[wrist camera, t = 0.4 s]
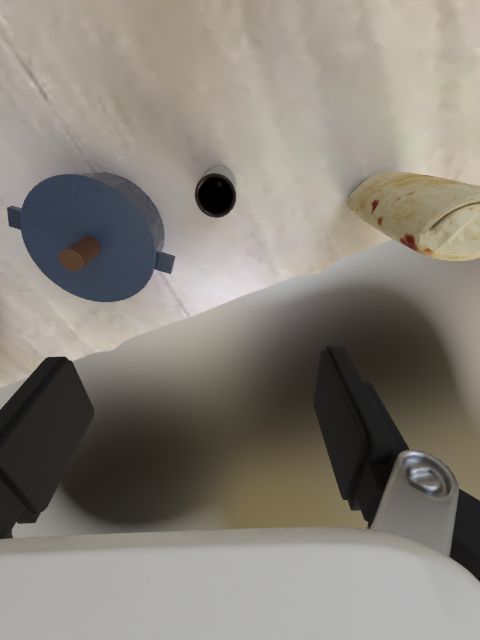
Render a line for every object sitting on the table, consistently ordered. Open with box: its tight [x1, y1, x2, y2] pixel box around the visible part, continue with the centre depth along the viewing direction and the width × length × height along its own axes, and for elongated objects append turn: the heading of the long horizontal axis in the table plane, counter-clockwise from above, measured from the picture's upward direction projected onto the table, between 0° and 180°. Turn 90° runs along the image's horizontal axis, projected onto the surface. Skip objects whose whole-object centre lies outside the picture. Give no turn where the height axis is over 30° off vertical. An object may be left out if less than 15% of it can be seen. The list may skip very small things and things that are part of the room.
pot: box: [7, 172, 175, 274], centre depth 39 cm, size 15×21×8 cm
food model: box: [348, 172, 480, 261], centre depth 32 cm, size 10×7×20 cm
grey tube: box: [195, 166, 236, 218], centre depth 35 cm, size 4×4×10 cm
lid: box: [20, 174, 156, 302], centre depth 34 cm, size 16×16×6 cm
